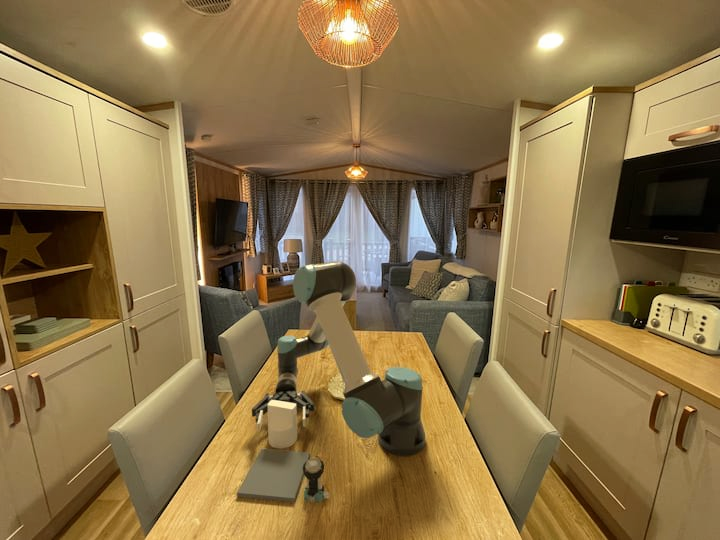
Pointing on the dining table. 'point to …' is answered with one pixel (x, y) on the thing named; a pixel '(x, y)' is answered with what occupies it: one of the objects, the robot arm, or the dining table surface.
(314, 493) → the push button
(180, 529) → the dining table surface
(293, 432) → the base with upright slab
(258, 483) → the slate mat
